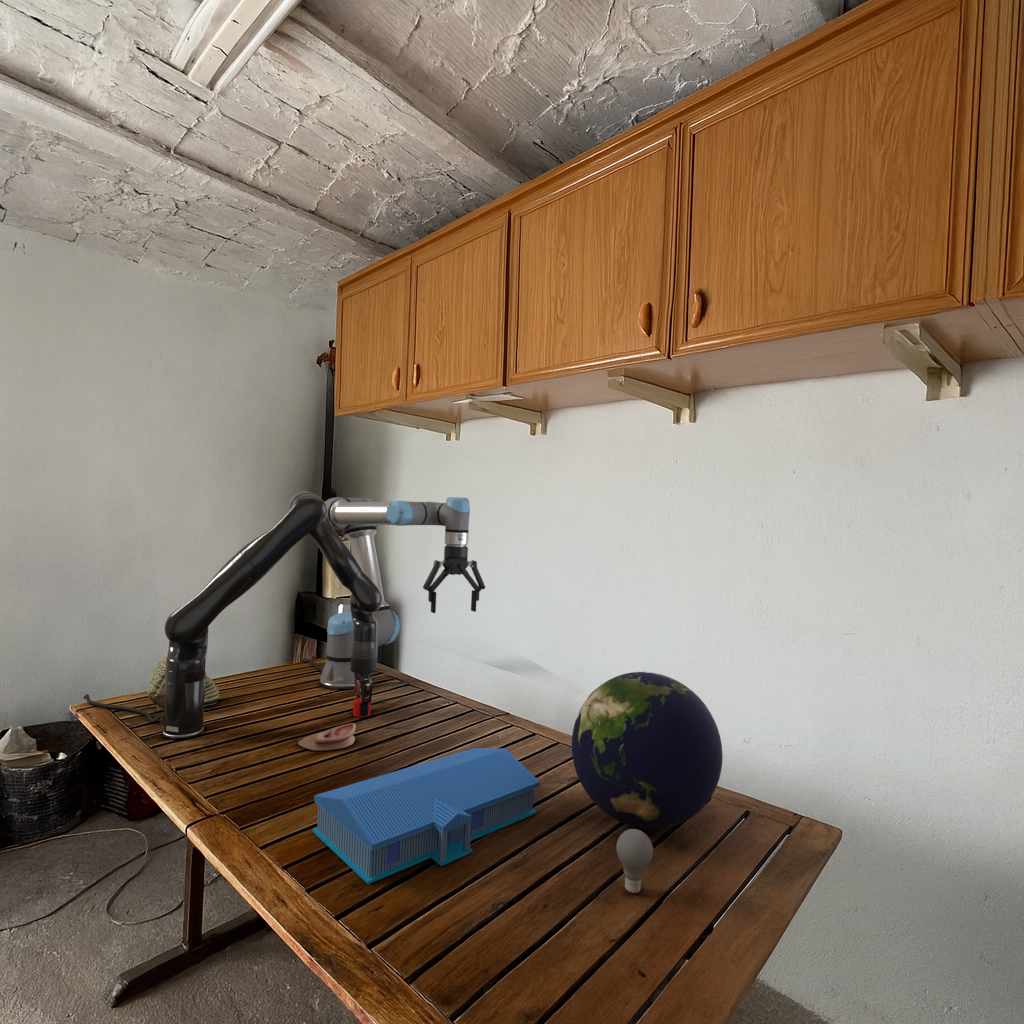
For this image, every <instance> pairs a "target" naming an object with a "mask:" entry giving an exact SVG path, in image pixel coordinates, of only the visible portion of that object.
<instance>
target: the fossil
mask: <svg viewBox="0 0 1024 1024" xmlns="http://www.w3.org/2000/svg"><path fill="white" fill-rule="evenodd" d="M166 658H167V654H165V655H164V656H163V657H162V658H161V659H160V660H159V662H158V663H157V666H156V667H155V669H154V670H153V672H152V675H151V677H150V680H149V684H148V688H147V697H148V699H149V700H150V701H152V703H153V704H154V706H155V711H158V712H159V711H162V712H163V711H164V705H165V674H166ZM220 698H221V696H220V690H219V688H218V686H217V685H216V683H215V682H214V681H213V679H212V678H211V677H209V675H208V674H207V672H206V671H205V693H204V707H207V706H213V705H215V704H217V703H218V701H219V699H220Z"/></svg>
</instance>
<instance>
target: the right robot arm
mask: <svg viewBox="0 0 1024 1024" xmlns="http://www.w3.org/2000/svg"><path fill="white" fill-rule="evenodd" d="M324 502H325V504H326V506H327V517H328V520H329V522H330V523H331V525H332V527H333V529H334V530H335V531H343V536H344V538H345V539H347V540H348V541H349V544H350V545H349V546H350V552H351V553H352V554H353V556H354V557H355V559H356V560H357V562H358V564H359V565H360V567H361V568H362V570H363V572H364V573H365V574H366V575H367V576H368V577H369V579H370V580H371V581H372V582H373V583H374V584H375V585H376V587H377V588H378V589H379V591H380V593H381V595H382V605H381V607H380V608H379V609H378V610H377V611H375V612H373V618H374V619H375V620H376V622H377V646H378V647H383V646H386V645H388V644H391V643H393V642H394V641H395V640H396V639H397V637H398V635H399V633H400V627H401V626H400V619H399V616H398V615H397V614H396V613H395V611H392V610H391V605H390V604H388V602H386V601H385V596H384V590H383V586H382V579H381V573H380V568H379V567H380V566H379V562H378V560H379V559H378V555H377V550H376V544H375V538H374V537H375V535H376V534H377V532H378V530H377V529H378V527H379V526H397V527H404V526H440V527H441V526H442V527H444V545H445V546H444V549H443V550H444V551H443V561H441V560H437V559H435V560H434V561H433V566H432V569H431V570H430V572H429V574H428V576H427V577H426V580H425V581H424V584H423V585H422V589H423V590H425V591H427V592H428V597H427V598H428V602H429V603H430V613H432V614H436V611H437V610H436V609H437V592H436V590H437V588H438V587H439V586H440V585H441V584H442V582H443V581H444V580H445V579H446V578H447V577H448V576H449V575H451V576H455V575H457V576H461V575H462V576H463V577H464V578H465V580H466V581H467V582H468V583H469V584H470V585H469V586H471V587H472V589H473V590H471V598H470V599H471V600H470V611H472V612H474V613H476V612H477V602H479V601H480V592H481V591H482V590H485V589H486V585H485V582H484V581H483V578H482V575H481V574H480V571H479V568H478V562H477V561H476V560H473V559H471V560H470V561H468V558H469V557H468V556H469V547H468V545H469V533H470V532H469V530H470V529H469V526H470V513H471V510H470V509H471V508H470V507H471V506H470V504H471V503H470V500H469V498H468V497H457V496H448V497H447V498H446V502H436V501H408V500H406V501H405V500H395V501H374V500H373V499H371V498H365V497H342V496H336V497H330V498H328V499H327V500H325V501H324ZM468 566H469V567H470V568H471V571H472V574H473V576H474V578H475V580H476V581H475V580H474V578H472V576H471V575H470V573H469V571H468V570H467V568H468ZM442 567H443V570H442V571H441V572H440V574H439V575H438V576H437V574H438V572H439V569H440V568H442ZM436 576H437V578H436ZM434 579H435V580H434ZM326 628H327V629H326V632H327V639H326V641H327V642H326V659H325V660H326V661H325V664H324V666H323V668H322V667H320V666H319V665H318V664H317V663H316V662H314V661H313V660H311V659H310V658H308V657H305V658H303V659H302V660H301V662H302V663H304V662H308V663H310V664H311V665H312V666H314V667H315V668H316V669H317V670H319V671H320V672H321V675H320V678H319V685H320V686H321V687H323V688H325V689H329V690H339V691H340V690H341V691H343V690H344V691H345V690H353V689H354V673H353V672H352V671H351V670H350V666H351V646H352V638H353V620H352V615H351V611H344V612H340V613H339V612H338V613H336V614H334V615H332V616H331V617H330V618H329V620H328V623H327V627H326Z"/></svg>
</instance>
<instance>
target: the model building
mask: <svg viewBox="0 0 1024 1024" xmlns="http://www.w3.org/2000/svg"><path fill="white" fill-rule="evenodd" d="M540 787H541V781H540V780H539V779H538V778H537V777H536V776H535V775H534V774H532V772H530V770H529V769H528V768H526V767H525V766H524V764H523V763H522V762H520V760H519V759H518V758H516V757H515V756H514V755H513V754H512V753H511V752H510V751H509V750H508V749H507V748H503V747H502V748H498V747H497V748H496V747H495V748H494V747H493V748H491V747H472V748H470V749H466V750H463V751H460V752H455V753H452V754H450V755H446V756H442V757H439V758H436V759H432V760H429V761H426V762H423V763H419V764H416V765H412V766H409V767H406V768H402V769H399V770H396V771H395V770H394V771H392V772H389V773H386V774H382V775H379V776H376V777H372V778H369V779H365V780H361V781H359V782H355V783H352V784H348V785H345V786H342V787H338V788H336V789H332V790H328V791H324V792H321V793H318V794H315V795H313V802H315V803H316V804H317V825H316V826H317V827H315V828H312V833H313V834H314V835H315V836H317V838H318V839H320V841H322V842H323V844H325V845H326V846H327V847H328V848H329V849H330V850H331V851H332V852H334V853H335V854H336V855H337V856H338V857H339V858H340V859H341V860H342V861H343V862H344V863H345V864H346V865H347V866H348V867H349V868H350V869H352V871H353V872H354V873H355V874H357V875H358V876H359V878H361V879H362V880H363V881H364V882H365V883H366V884H367V885H371V884H373V883H374V882H375V883H376V882H377V881H379V880H381V879H385V878H386V877H389V876H391V875H394V874H396V873H398V872H401V871H403V870H406V869H408V868H411V867H413V866H415V865H418V864H419V863H422V862H425V861H427V860H429V859H432V860H433V861H434V862H435V863H436V864H437V865H439V866H440V867H442V866H445V865H447V864H450V863H452V862H454V861H456V860H459V859H461V858H463V857H465V856H468V855H470V854H472V853H473V852H474V849H473V848H471V844H472V843H471V842H472V841H475V840H477V839H480V838H481V837H484V836H486V835H488V834H492V833H493V832H496V831H497V830H501V829H503V828H505V827H507V826H510V825H513V824H515V823H517V822H520V821H522V820H524V819H526V818H529V817H532V816H534V815H537V813H538V812H537V810H536V809H534V795H535V793H534V791H535V789H538V788H540Z"/></svg>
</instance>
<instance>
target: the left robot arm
mask: <svg viewBox="0 0 1024 1024" xmlns="http://www.w3.org/2000/svg"><path fill="white" fill-rule="evenodd" d="M289 501H290V502H289V504H288V511H287V512H286V513H285V514H284V516H283V517H282V518H281V519H280V520H279V521H278V522H277V523H276V524H275V525H274V526H273V527H272V528H271V529H268V530H267V531H266V532H264V533H262V534H260V535H259V536H257V537H255V538H254V539H252V540H251V541H249V542H248V543H246V544H245V545H244V546H243V547H241V548H240V549H239V550H238V551H237V552H236V553H234V554H233V556H232V557H231V558H230V559H228V560H227V561H226V562H225V564H223V566H222V567H221V568H220V569H219V570H218V571H217V572H216V573H215V575H214V576H213V577H212V578H211V579H210V580H209V582H208V583H207V584H206V585H205V586H204V588H203V589H202V590H200V591H199V592H198V593H197V594H196V595H195V596H193V597H192V598H190V600H188V601H187V602H186V603H185V604H183V605H181V606H179V607H177V608H176V609H175V610H174V611H172V612H171V613H170V614H169V615H168V617H167V618H166V621H165V623H164V635H165V637H166V638H167V640H168V650H167V653H166V655H167V658H166V674H165V705H164V710H163V711H162V712H160V715H158V716H157V717H156V718H153V717H152V715H151V713H149V712H147V711H145V710H143V709H139V708H135V707H131V706H122V705H113V704H107V703H101V702H97V701H93V700H92V699H91V698H90V695H89V694H88V693H86V694H84V695H83V700H85V701H86V702H87V703H88V704H90V705H92V706H95V707H100V708H105V709H112V710H120V711H126V712H132V713H137V714H140V715H143V716H145V717H146V718H147V719H148V721H149V723H153V724H154V723H158V722H159V721H160V724H161V725H163V730H162V737H164V738H166V739H169V740H185V739H190V738H191V739H192V738H194V737H197V736H199V735H202V734H203V732H204V730H205V729H204V726H205V725H204V722H205V721H204V718H205V706H204V693H205V672H206V664H207V663H206V662H207V661H206V660H207V655H208V646H209V645H208V643H209V626H210V625H211V624H212V622H214V621H215V619H216V618H217V617H218V616H219V615H220V614H221V613H222V612H223V611H224V610H226V608H227V607H229V606H230V605H231V604H233V603H234V602H235V601H236V600H238V599H239V598H241V597H242V596H243V595H244V594H246V593H247V592H248V591H249V590H250V589H252V588H253V587H254V586H255V585H256V584H258V583H259V581H261V579H263V578H264V577H265V576H266V575H267V574H268V573H269V572H270V571H271V570H272V569H273V568H274V567H275V566H276V565H277V564H278V563H279V562H280V561H281V560H282V559H283V558H284V557H285V556H286V555H287V554H288V552H289V551H290V550H291V549H292V548H294V547H295V545H296V544H298V543H299V542H300V541H302V540H303V539H304V538H305V537H307V536H308V535H309V536H310V537H311V538H312V539H313V541H314V542H315V544H316V545H317V547H318V548H319V550H320V552H321V553H322V555H323V557H324V559H325V561H326V563H327V564H328V565H329V567H330V569H331V570H332V572H333V573H334V575H335V577H336V578H337V579H338V581H339V582H340V584H341V585H342V586H343V587H344V588H346V589H347V590H348V591H349V592H350V593H351V594H350V597H349V607H350V612H351V615H352V620H353V638H352V646H351V666H350V670H351V671H352V672H353V673H354V690H353V692H354V693H355V699H356V698H360V715H361V716H367V715H368V706H369V703H370V702H371V703H372V697H373V696H372V695H373V688H374V683H373V682H372V677H371V676H370V674H372V673H375V672H377V670H378V669H377V668H378V648H379V646H377V622H376V620H375V619H374V618H373V612H375V611H377V610H378V609H379V608H380V607H381V605H382V595H381V593H380V591H379V589H378V588H377V587H376V585H375V584H374V583H373V582H372V581H371V580H370V579H369V577H368V576H367V575H366V574H365V573H364V572H363V570H362V568H361V567H360V565H359V564H358V562H357V560H356V559H355V557H354V556H353V554H352V552H351V549H350V548H348V546H347V545H346V544H345V542H344V541H343V540H342V539H341V537H340V535H338V533H337V532H336V530H335V529H333V527H332V525H331V523H330V522H329V520H328V517H327V506H326V504H325V501H324V500H323V499H322V498H321V496H319V495H318V494H317V493H315V492H312V491H307V490H304V491H299V492H297V493H295V494H294V495H293V496H292V497H291V499H290V500H289ZM365 697H366V699H365ZM96 702H97V703H96ZM367 717H368V716H367Z"/></svg>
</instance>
